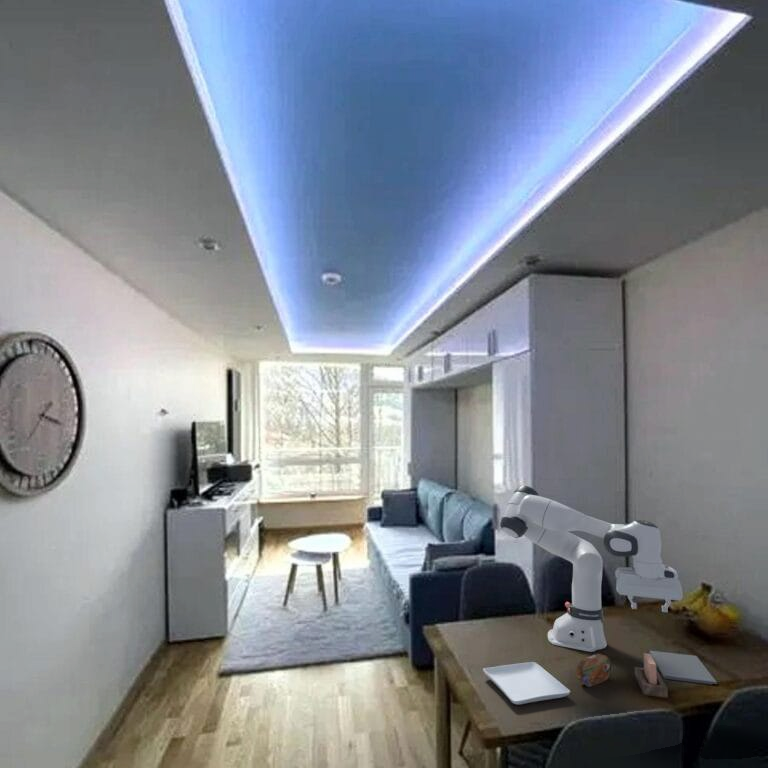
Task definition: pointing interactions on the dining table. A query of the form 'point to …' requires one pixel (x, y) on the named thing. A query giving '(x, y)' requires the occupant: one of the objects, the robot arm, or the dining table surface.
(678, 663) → the rubber mat
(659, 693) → the brown flat hollow block
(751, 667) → the dining table surface
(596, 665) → the tin
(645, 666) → the pink flat slab
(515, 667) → the salad plate
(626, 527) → the robot arm
